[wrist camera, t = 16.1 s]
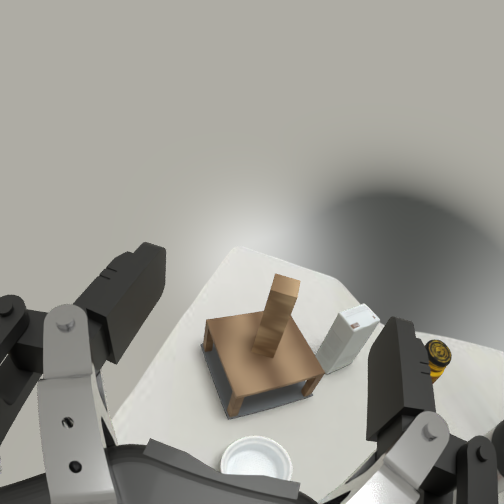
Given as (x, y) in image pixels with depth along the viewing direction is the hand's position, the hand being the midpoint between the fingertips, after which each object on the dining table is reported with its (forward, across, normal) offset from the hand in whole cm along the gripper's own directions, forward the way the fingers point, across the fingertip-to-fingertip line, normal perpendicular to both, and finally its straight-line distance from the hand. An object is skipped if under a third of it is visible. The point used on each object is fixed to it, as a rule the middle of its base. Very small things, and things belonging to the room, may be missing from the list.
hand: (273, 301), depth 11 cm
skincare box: (+29, -14, +36) cm, 48 cm away
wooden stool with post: (+22, -1, +36) cm, 42 cm away
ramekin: (+5, -5, +36) cm, 37 cm away
